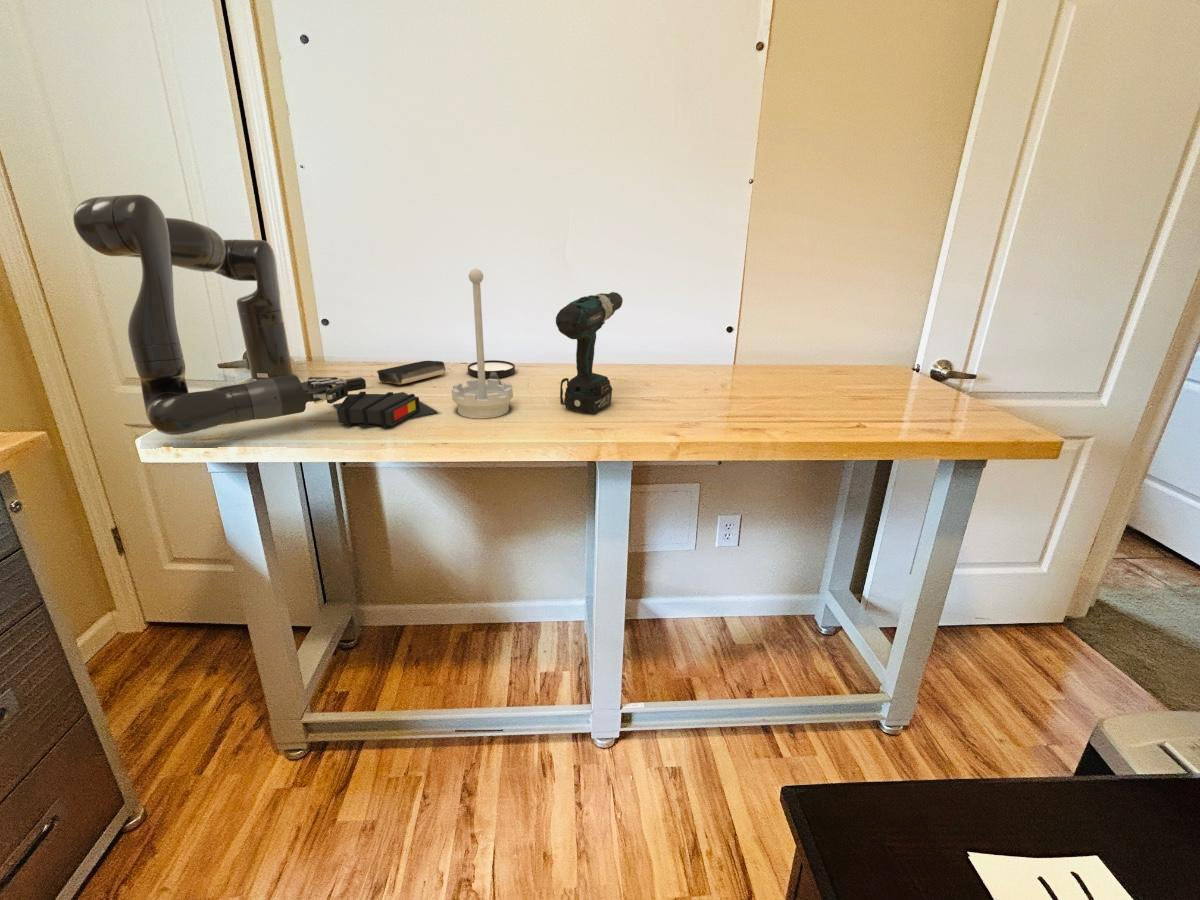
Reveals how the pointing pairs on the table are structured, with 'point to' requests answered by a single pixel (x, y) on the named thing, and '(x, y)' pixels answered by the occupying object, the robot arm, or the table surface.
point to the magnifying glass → (493, 369)
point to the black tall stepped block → (377, 408)
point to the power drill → (586, 350)
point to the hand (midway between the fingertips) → (364, 382)
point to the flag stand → (481, 374)
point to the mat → (422, 412)
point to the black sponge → (411, 372)
